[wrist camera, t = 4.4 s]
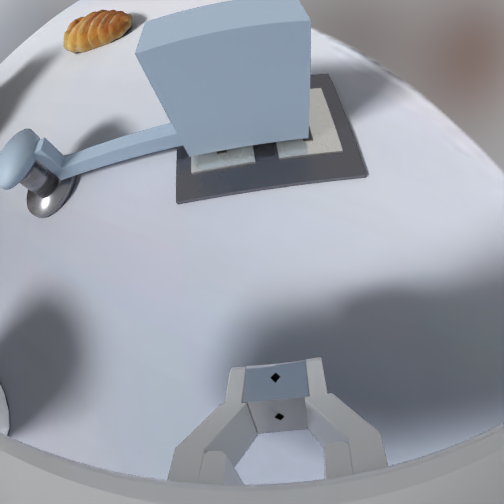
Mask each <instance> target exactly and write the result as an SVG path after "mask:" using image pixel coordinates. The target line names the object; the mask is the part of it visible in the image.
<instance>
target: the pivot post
mask: <svg viewBox="0 0 504 504" xmlns="http://www.w3.org/2000/svg"><path fill="white" fill-rule="evenodd" d="M75 181H76V175H75V176H72V177H69V178H66V179H64V180H61V179H60V178H58V177H57V176H56V175H55V174H53V173H52V172H51V171H50V170H49V169H47V168H46V167H45V166H44V165H43V164H41V163H40V162H39V161H38V160H37V159H36V160H35V162H34V164H33V165H32V167H31V169H30V170H29V172H28V173H27V174H26V176H25V177H24V178H23V179H22V180H21V181H20V182H19V183H21V184H22V185H23V186H25V187H26V188H28V193H27V207H28V209H29V211H30V212H31V213H32V214H33V215H35V216H37V217H39V218H45V217H48V216H50V215H52V214H54V213H55V212H56V211H58V210H59V209H60V208H61V207H62V206H63V204H64V203H65V202H66V200H67V199H68V197H69V196H70V194H71V192H72V190H73V187H74V185H75Z"/></svg>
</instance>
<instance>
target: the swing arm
mask: <svg viewBox="0 0 504 504" xmlns="http://www.w3.org/2000/svg"><path fill="white" fill-rule="evenodd" d="M135 55H136V57H137V59H138V61H139V63H140V65H141V66H142V68H143V70H144V72H145V74H146V76H147V78H148V80H149V82H150V84H151V86H152V87H153V89H154V91H155V93H156V95H157V97H158V99H159V101H160V103H161V104H162V106H163V108H164V110H165V112H166V114H167V116H168V118H169V120H170V121H171V123H169V124H165V125H161V126H157V127H153V128H150V129H146V130H143V131H139V132H136V133H132V134H129V135H126V136H123V137H119V138H116V139H113V140H110V141H107V142H104V143H101V144H98V145H95V146H92V147H89V148H87V149H84V150H81V151H78V152H76V153H73V154H71V155H68V156H64V155H63V154H61V153H60V152H59V151H58V150H57V149H56V148H55V147H54V146H53V145H52V144H51V143H50V142H49V141H48V140H47V139H46V138H43V139H41V140H40V138H39V136H38V135H36V134H35V133H34V132H33V131H32V130H31V129H24V130H22V131H20V132H18V133H17V134H16V135H15V136H13V137H12V138H11V139H10V141H9V142H8V143H7V144H6V145H5V147H4V148H3V150H2V151H1V153H0V187H2V188H3V189H6V190H7V189H11V188H13V187H14V186H16V185H17V184H18V183H19V182H20V181H21V180H22V179H23V178H24V177H25V176H26V174H27V173H28V172H29V170H30V169H31V167H32V165H33V164H34V162H35V160H36V159H37V160H38V161H39V162H40V163H41V164H43V165H44V166H45V167H46V168H47V169H49V170H50V171H51V172H52V173H53V174H55V175H56V176H57V177H58V178H60V179H61V180H64V179H66V178H69V177H72V176H75V175H78V174H81V173H84V172H87V171H90V170H93V169H96V168H100V167H103V166H106V165H109V164H113V163H116V162H120V161H123V160H127V159H130V158H134V157H138V156H141V155H145V154H149V153H153V152H157V151H161V150H165V149H169V148H173V147H178V146H182V145H183V146H184V148H185V150H186V152H187V153H188V155H189V157H191V156H196V155H201V154H206V153H211V152H217V151H222V150H228V149H233V148H239V147H245V146H252V145H258V144H265V143H272V142H279V141H287V140H295V139H303V138H308V135H309V109H310V69H311V20H310V18H309V17H308V15H307V13H306V12H305V10H304V8H303V7H302V5H301V3H300V2H299V0H232V1H226V2H221V3H216V4H211V5H206V6H201V7H197V8H193V9H189V10H185V11H181V12H177V13H174V14H170V15H167V16H163V17H160V18H157V19H153V20H150V21H147V22H145V25H144V27H143V30H142V33H141V36H140V39H139V43H138V46H137V49H136V52H135Z"/></svg>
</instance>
